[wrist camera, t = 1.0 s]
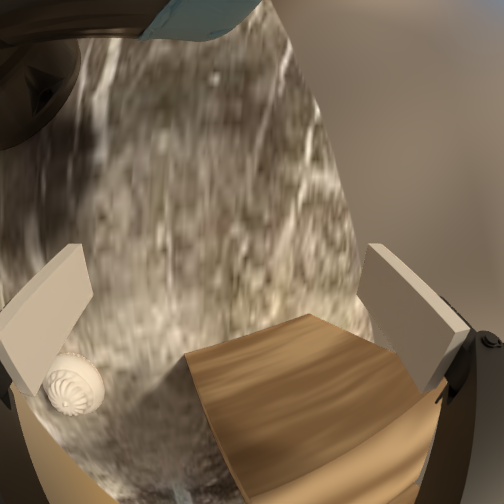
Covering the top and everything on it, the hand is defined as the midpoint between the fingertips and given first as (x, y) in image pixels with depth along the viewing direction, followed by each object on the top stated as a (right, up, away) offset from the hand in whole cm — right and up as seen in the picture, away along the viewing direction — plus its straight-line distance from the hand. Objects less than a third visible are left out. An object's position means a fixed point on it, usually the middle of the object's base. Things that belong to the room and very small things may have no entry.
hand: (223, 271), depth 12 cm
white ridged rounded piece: (-16, -10, +10) cm, 21 cm away
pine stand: (+4, -21, +18) cm, 28 cm away
